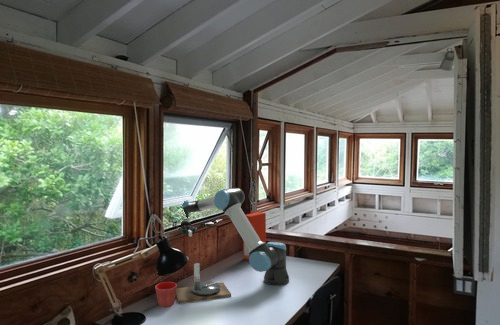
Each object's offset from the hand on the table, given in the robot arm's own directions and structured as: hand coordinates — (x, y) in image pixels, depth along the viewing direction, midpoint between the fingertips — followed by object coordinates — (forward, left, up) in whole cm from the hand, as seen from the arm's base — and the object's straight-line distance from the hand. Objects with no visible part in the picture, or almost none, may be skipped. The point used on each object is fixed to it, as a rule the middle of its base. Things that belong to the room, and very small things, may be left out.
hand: (190, 234), depth 214 cm
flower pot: (+16, +22, -30) cm, 41 cm away
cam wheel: (-7, +15, -28) cm, 33 cm away
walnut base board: (-4, +15, -30) cm, 34 cm away
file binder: (-53, -40, -30) cm, 72 cm away
